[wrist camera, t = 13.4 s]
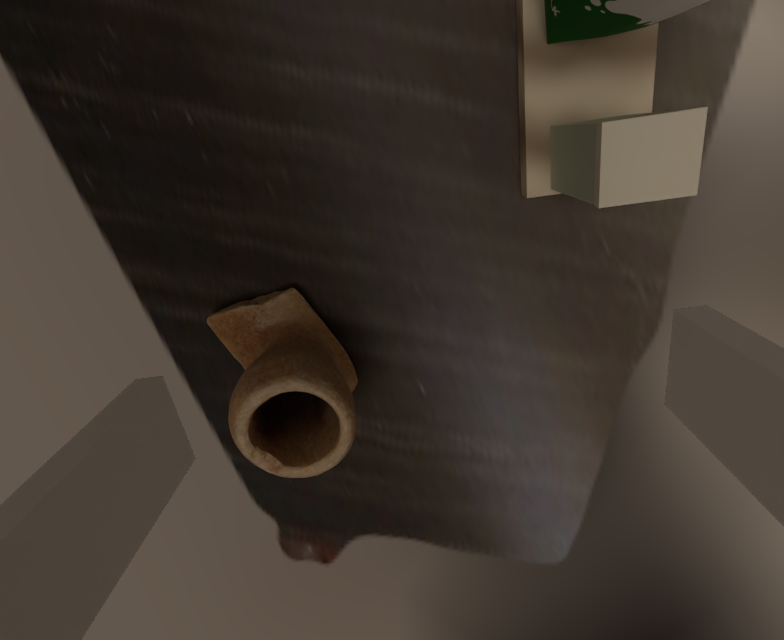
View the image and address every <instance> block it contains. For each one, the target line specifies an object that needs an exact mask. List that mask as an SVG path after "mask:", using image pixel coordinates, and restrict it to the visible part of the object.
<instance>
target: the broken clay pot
mask: <svg viewBox="0 0 784 640" xmlns="http://www.w3.org/2000/svg"><path fill="white" fill-rule="evenodd" d="M207 324H208V325H209V326H210V327H211V329H212V330H213V331H214V333H215V334H216V335H217V337H218V338H219V339H220V340H221V341H222V343H223V344H224V345H225V346H226V348H227V349H228V350H229V351H230V353H231V354H232V355H233V356H234V357H235V359H237V360H238V361H239V362H240V363H241V364H242V366H243V368H244V369H245V371H244V372H243V374H242V375H241V377H240V379H239V380H238V382H237V384H236V386H235V389H234V391H233V393H232V396H231V400H230V405H229V417H228V419H229V427H230V431H231V434H232V438H233V440H234V442H235V444H236V446H237V447H238V449H239V450H240V451H241V453H242V454H243V455H244V456H245V457H246V458H247V459H248V460H250V461H251V462H252V463H253V464H255V465H257V466H258V467H260V468H261V469H263V470H265V471H266V472H269V473H272V474H275V475H277V476H281V477H287V478H307V477H311V476H315V475H319V474H321V473H323V472H325V471H327V470H329V469H330V468H332V467H334V466H335V465H337V464H338V463H339V462H340V461H341V460H342V459H343V458H344V457H345V455H346V454H347V452H348V451H349V450H350V448H351V446H352V443H353V441H354V438H355V434H356V428H357V414H356V407H355V402H354V398H353V395H352V392H353V390H354V389H355V387H356V385H357V381H358V380H357V376H356V371H355V369H354V366H353V364H352V362H351V360H350V358H349V356H348V354H347V353H346V351H345V350H344V348H343V347H342V345H341V344H340V342H339V341H338V340H337V339H336V337H335V336H334V335H333V334H332V332H331V331H330V330H329V329H328V327H327V326H326V325H325V323H324V322H323V321H322V320H321V319H320V317H319V316H318V315H317V314H316V313H315V311H314V310H313V309H312V308H311V306H310V305H309V304H308V303H307V301H306V300H305V299H304V298H303V296H302V295H301V294H300V293H299V292H298V291H297V290H296V289H295V288H289V289H288V290H285V291H275V292H273V293H271V294H267V295H265V296H259V297H257V298H255V299H253V300H246V301H241V302H237V303H235V304H233V305H231V306H229V307H226V308H224V309H222V310H220V311H218V312H216V313H213V314H211V315H210V316H209V317H208V318H207Z"/></svg>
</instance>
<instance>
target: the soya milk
mask: <svg viewBox="0 0 784 640" xmlns="http://www.w3.org/2000/svg"><path fill="white" fill-rule="evenodd" d="M708 1H710V0H544V2H545V18H546V34H547V44H552V43H559V42H567V41H576V40H585V39H593V38H601V37H606V36H611V35H615V34H620V33H624V32H628V31H632V30H636V29H640V28H643V27H647V26H650V25H654V24H656V23H659V22H661V21H664V20H666V19H668V18H671V17H673V16H675V15H678V14H680V13H682V12H685V11H687V10H689V9H692V8H694V7H696V6H699V5H701V4H703V3H706V2H708Z"/></svg>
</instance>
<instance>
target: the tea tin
mask: <svg viewBox="0 0 784 640" xmlns="http://www.w3.org/2000/svg"><path fill="white" fill-rule="evenodd" d="M707 109H708V107H701V108H694V109H687V110H677V111H665V112H653V113H641V114H629V115H621V116H614V117H607V118H601V119H594V120H587V121H580V122H574V123H567V124H560V125H553V126H550V163H551V189H552V190H554V191H557V192H560V193H562V194H565V195H568V196H571V197H573V198H576V199H579V200H581V201H584V202H587V203H589V204H592V205H594V207H597V208H604V207H612V206H619V205H626V204H634V203H641V202H649V201H656V200H664V199H671V198H678V197H686V196H693V195H697V191H698V183H699V175H700V166H701V158H702V150H703V142H704V133H705V125H706V117H707Z"/></svg>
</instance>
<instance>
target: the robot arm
mask: <svg viewBox="0 0 784 640" xmlns="http://www.w3.org/2000/svg"><path fill="white" fill-rule="evenodd" d="M665 405H666V406H667V407H668V408H669V409H670V410H671V411H672V412H673V413H674V414H675V415H676V416H677V417H678V418H679V419H680V421H682V423H683V424H684V425H685V426H686V427H687V428H688V429H689V430H690V431H691V432H692V433H693V434H694V435H695V436H696V437H697V438H698V439H699V440H700V441H701V442H702V443H703V444H704V445H705V446H706V447H707V448H708V449H709V450H710V451H711V452H712V453H713V454H714V455H715V456H716V457H717V459H718V460H719V461H720V462H721V463H722V464H723V465H724V466H725V467H726V468H727V469H728V470H729V471H730V472H731V473H732V474H733V475H734V476H735V477H736V478H737V479H738V480H739V481H740V482H741V483H742V484H743V485H744V486H745V487H746V488H747V489H748V490H749V491H750V492H751V493H752V494H753V495H754V496H755V497H756V498H757V499H758V501H759V502H760V503H761V504H762V505H763V506H764V507H765V508H766V509H767V510H768V511H769V512H770V513H771V514H772V515H773V516H774V517H775V518H776V519H777V520H778V521H779V522H780V523H781V524H782V525H783V526H784V348H782V347H780V346H779V345H777V344H775V343H773V342H771V341H770V340H768V339H766V338H764V337H762V336H761V335H759V334H757V333H755V332H754V331H752V330H750V329H748V328H747V327H745V326H743V325H741V324H740V323H738V322H736V321H734V320H732V319H731V318H729V317H727V316H725V315H723V314H722V313H720V312H718V311H716V310H715V309H712V308H711V307H709V306H707V305H703V306H696V307H688V308H680V309H674V314H673V324H672V336H671V345H670V355H669V366H668V376H667V386H666V396H665ZM194 460H195V455H194V453H193V450H192V448H191V445H190V442H189V440H188V438H187V435H186V433H185V430H184V428H183V426H182V423H181V420H180V418H179V415H178V413H177V410H176V408H175V405H174V403H173V400H172V398H171V395H170V393H169V390H168V388H167V385H166V383H165V380H164V378H163V376H157V377H150V378H142V379H135V380H134V381H133V382H132V383H131V384H130V385H129V386H128V387H127V388H126V389H124V390H123V391H122V392H121V393H120V394H119V395H118V396H117V397H116V398H115V399H114V400H113V401H112V402H111V403H109V404H108V405H107V406H106V407H105V408H104V409H103V410H102V411H101V412H100V413H99V414H98V415H97V416H95V417H94V418H93V419H92V420H91V421H90V422H89V423H88V424H87V425H86V426H85V427H84V428H83V429H82V430H80V431H79V432H78V433H77V434H76V435H75V436H74V437H73V438H72V439H71V440H70V441H69V442H68V443H66V444H65V445H64V446H63V447H62V448H61V449H60V450H59V451H58V452H57V453H56V454H55V455H54V456H52V457H51V458H50V459H49V460H48V461H47V462H46V463H45V464H44V465H43V466H42V467H41V468H40V469H38V470H37V471H36V472H35V473H34V474H33V475H32V476H31V477H30V478H29V479H28V480H27V481H26V482H24V483H23V484H22V485H21V486H20V487H19V488H18V489H17V490H16V491H15V492H14V493H13V494H12V495H11V496H10V497H8V498H7V499H6V500H5V501H4V502H3V503H2V504H1V505H0V640H82V638H83V637H84V635H85V633H86V631H87V630H88V629H89V627H90V625H91V624H92V622H93V621H94V619H95V617H96V616H97V614H98V613H99V611H100V610H101V608H102V606H103V605H104V603H105V602H106V600H107V598H108V597H109V595H110V594H111V592H112V590H113V589H114V587H115V586H116V584H117V582H118V581H119V579H120V578H121V576H122V574H123V573H124V571H125V570H126V568H127V567H128V565H129V563H130V562H131V560H132V559H133V557H134V555H135V554H136V552H137V551H138V549H139V547H140V546H141V544H142V543H143V541H144V540H145V538H146V536H147V535H148V533H149V532H150V530H151V528H152V527H153V525H154V524H155V522H156V521H157V519H158V517H159V516H160V514H161V512H162V511H163V509H164V508H165V506H166V505H167V503H168V501H169V500H170V498H171V497H172V495H173V493H174V492H175V490H176V489H177V487H178V486H179V484H180V482H181V481H182V479H183V477H184V476H185V474H186V473H187V471H188V470H189V468H190V467H191V465H192V463H193V462H194Z"/></svg>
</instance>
